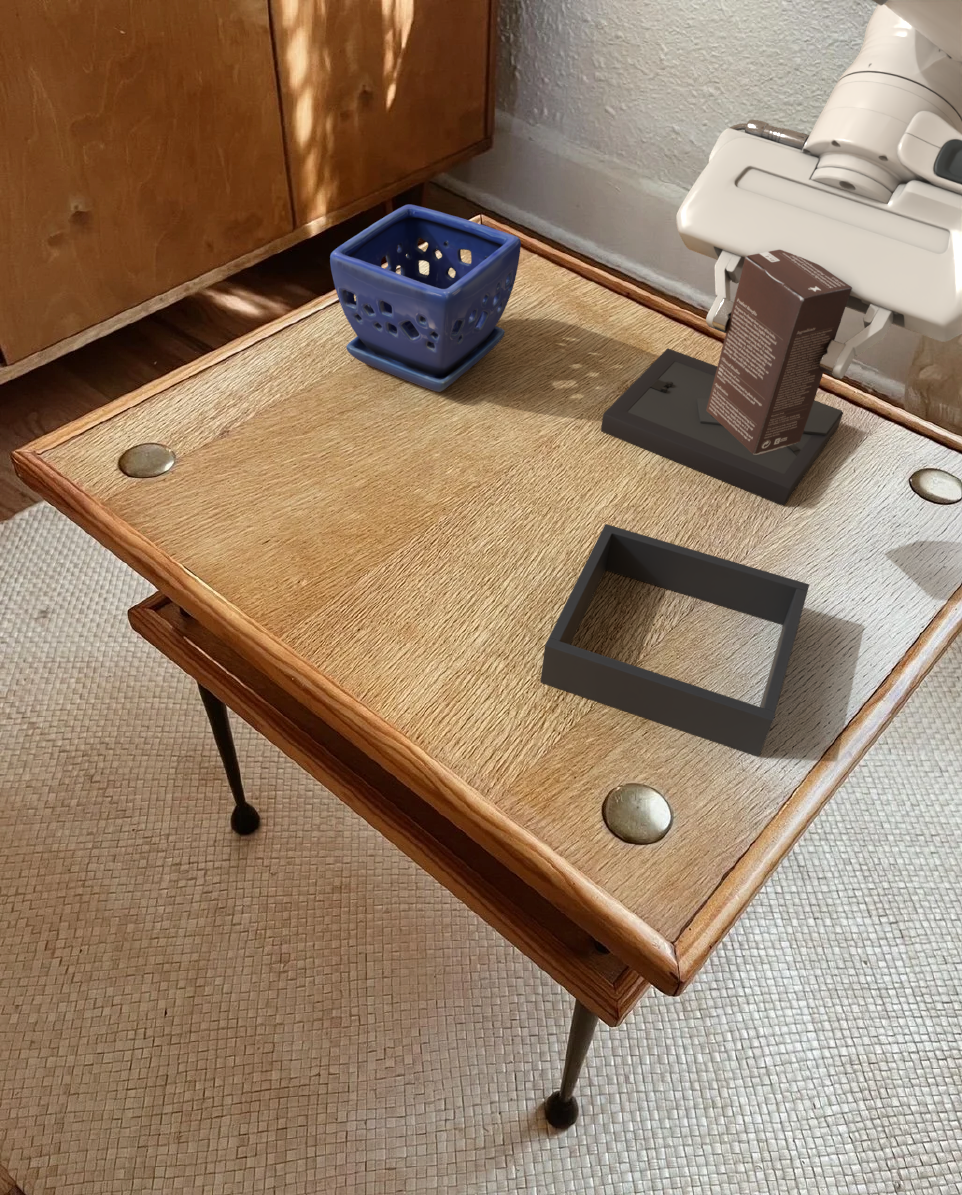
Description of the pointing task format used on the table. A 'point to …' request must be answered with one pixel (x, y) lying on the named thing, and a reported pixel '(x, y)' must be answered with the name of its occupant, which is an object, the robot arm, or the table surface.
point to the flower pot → (425, 294)
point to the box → (775, 349)
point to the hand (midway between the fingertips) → (772, 350)
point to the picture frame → (710, 429)
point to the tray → (658, 692)
